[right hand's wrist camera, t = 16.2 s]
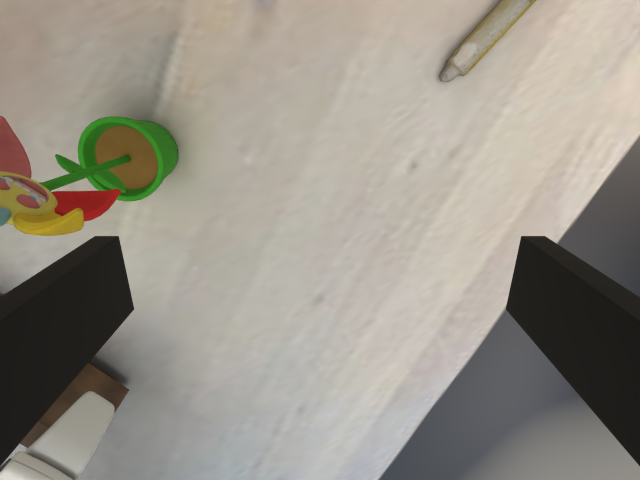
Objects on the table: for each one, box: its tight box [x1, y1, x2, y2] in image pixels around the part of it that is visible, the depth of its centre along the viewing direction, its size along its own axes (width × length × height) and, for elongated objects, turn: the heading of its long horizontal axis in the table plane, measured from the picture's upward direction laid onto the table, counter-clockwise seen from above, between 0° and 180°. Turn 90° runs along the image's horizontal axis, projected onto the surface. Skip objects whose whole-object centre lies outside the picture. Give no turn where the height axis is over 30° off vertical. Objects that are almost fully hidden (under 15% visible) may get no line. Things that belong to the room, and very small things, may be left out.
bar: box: [20, 363, 129, 448], centre depth 44 cm, size 26×5×10 cm, turn 45°
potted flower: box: [0, 116, 178, 236], centre depth 29 cm, size 9×8×25 cm
